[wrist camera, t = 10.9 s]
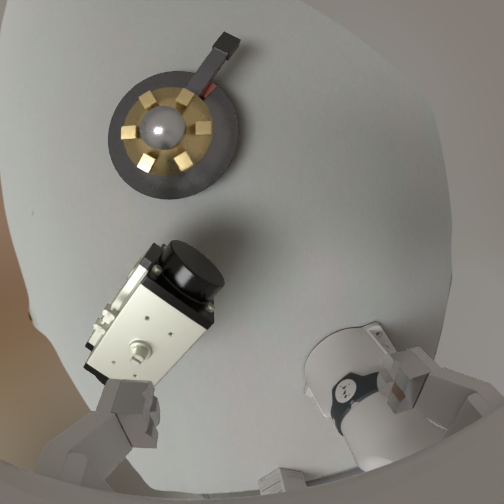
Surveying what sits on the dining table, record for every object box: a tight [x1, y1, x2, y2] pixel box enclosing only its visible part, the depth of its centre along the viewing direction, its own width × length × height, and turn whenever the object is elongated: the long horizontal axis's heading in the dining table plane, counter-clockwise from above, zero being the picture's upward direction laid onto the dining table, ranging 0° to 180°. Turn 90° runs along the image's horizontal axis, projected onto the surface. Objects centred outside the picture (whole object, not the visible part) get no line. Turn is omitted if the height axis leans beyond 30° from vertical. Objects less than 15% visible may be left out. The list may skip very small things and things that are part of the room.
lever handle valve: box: [121, 32, 240, 176], centre depth 28 cm, size 18×10×4 cm, turn 149°
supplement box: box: [258, 468, 307, 495], centre depth 54 cm, size 9×9×15 cm
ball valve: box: [84, 240, 225, 387], centre depth 32 cm, size 18×8×18 cm, turn 139°
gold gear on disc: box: [108, 71, 239, 199], centre depth 30 cm, size 16×16×10 cm
